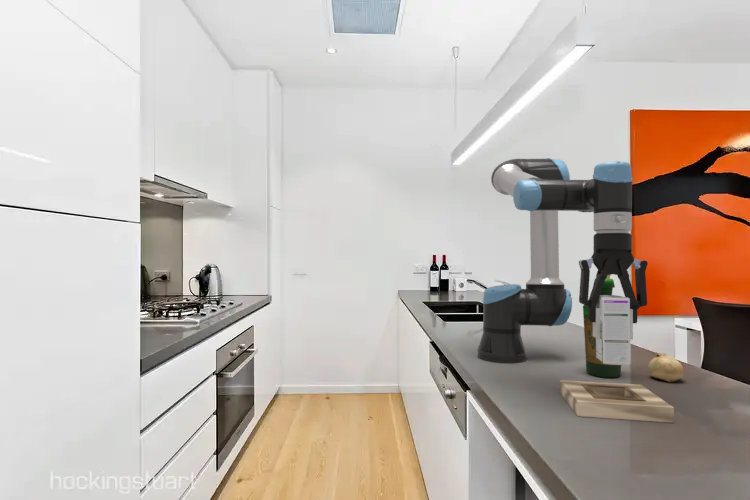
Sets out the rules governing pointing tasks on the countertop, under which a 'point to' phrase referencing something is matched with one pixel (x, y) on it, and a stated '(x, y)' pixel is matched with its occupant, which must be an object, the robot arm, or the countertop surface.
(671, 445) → the countertop surface
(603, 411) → the beige flat square frame
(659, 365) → the onion
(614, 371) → the bottle
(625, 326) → the syrup box
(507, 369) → the countertop surface
